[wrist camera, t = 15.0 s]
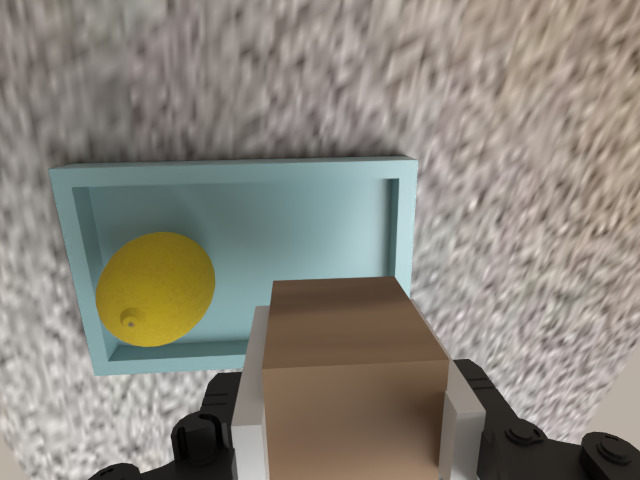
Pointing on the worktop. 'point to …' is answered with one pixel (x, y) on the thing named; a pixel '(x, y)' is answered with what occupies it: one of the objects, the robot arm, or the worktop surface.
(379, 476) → the walnut block
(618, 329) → the worktop surface
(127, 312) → the lemon
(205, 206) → the tray
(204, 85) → the worktop surface
